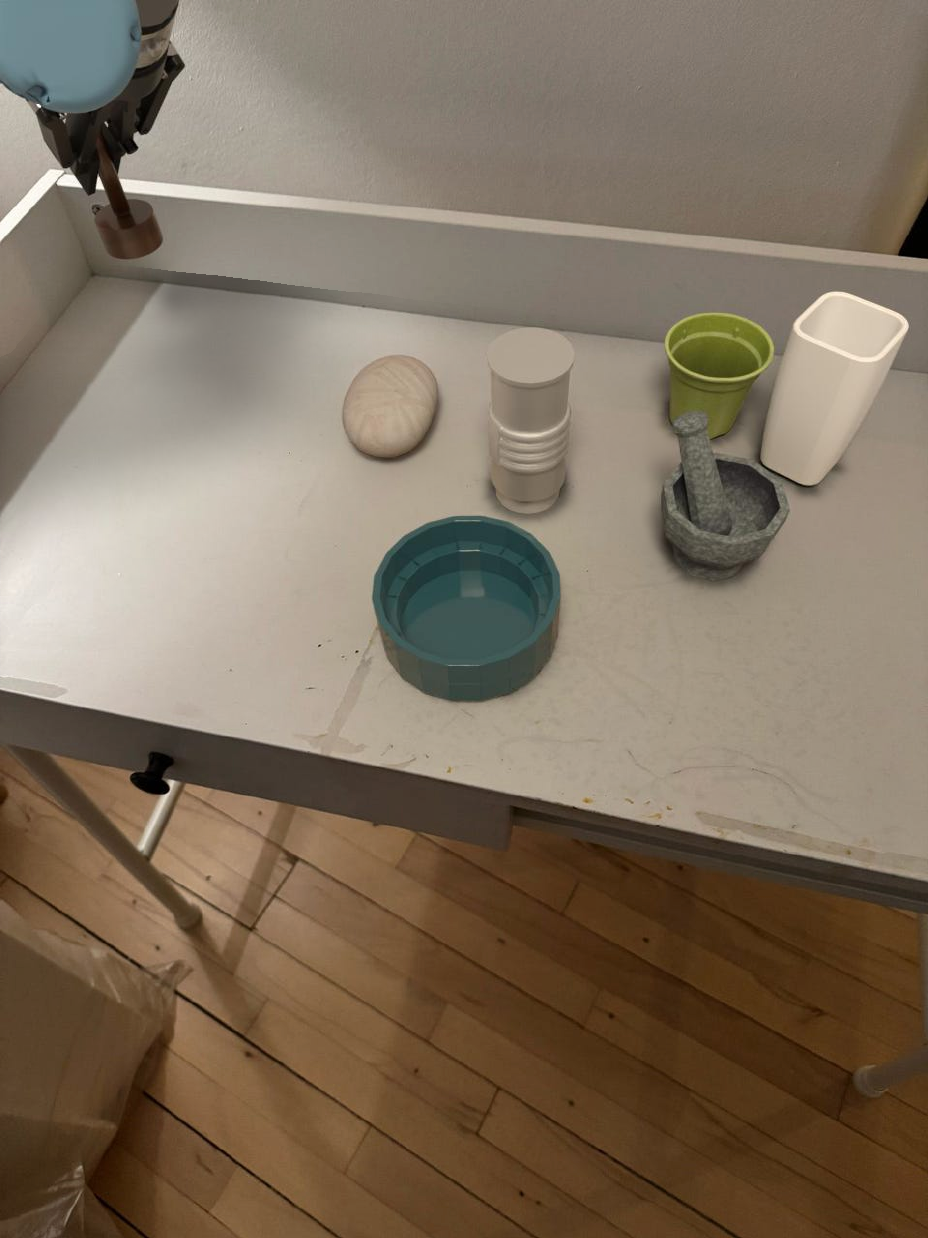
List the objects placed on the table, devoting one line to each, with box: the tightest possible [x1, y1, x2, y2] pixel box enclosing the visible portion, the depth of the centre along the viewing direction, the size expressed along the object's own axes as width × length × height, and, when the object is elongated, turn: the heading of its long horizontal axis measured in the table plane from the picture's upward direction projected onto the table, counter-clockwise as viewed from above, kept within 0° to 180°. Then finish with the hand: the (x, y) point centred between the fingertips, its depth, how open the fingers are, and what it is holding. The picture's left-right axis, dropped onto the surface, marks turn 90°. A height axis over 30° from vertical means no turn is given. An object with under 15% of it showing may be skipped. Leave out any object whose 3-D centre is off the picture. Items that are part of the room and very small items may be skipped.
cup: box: [760, 291, 910, 486], centre depth 71 cm, size 7×7×15 cm
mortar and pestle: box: [660, 411, 791, 582], centre depth 67 cm, size 11×9×12 cm
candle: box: [486, 326, 576, 515], centre depth 70 cm, size 7×7×15 cm
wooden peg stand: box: [93, 130, 164, 260], centre depth 76 cm, size 6×6×15 cm
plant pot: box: [664, 312, 775, 440], centre depth 77 cm, size 9×9×9 cm
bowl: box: [371, 515, 562, 702], centre depth 65 cm, size 14×14×6 cm
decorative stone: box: [341, 354, 439, 458], centre depth 80 cm, size 13×9×5 cm
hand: (93, 175), depth 79 cm, fingers closed on wooden peg stand, 2 cm apart
